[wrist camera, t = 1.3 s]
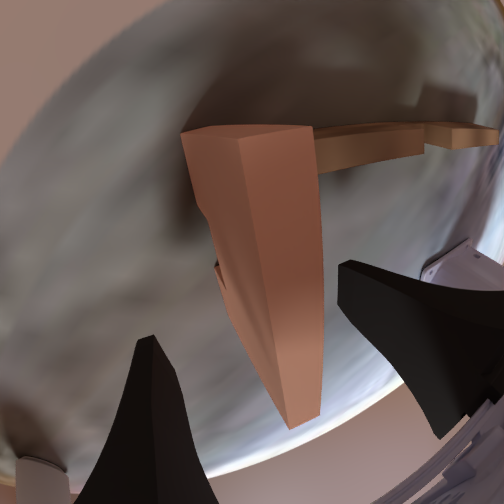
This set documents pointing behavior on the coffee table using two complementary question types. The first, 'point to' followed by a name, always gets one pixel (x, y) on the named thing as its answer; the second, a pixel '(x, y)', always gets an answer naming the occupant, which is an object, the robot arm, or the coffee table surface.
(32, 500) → the beverage can
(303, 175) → the tan flat plank
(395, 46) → the coffee table surface
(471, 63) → the coffee table surface
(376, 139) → the walnut board
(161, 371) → the robot arm
